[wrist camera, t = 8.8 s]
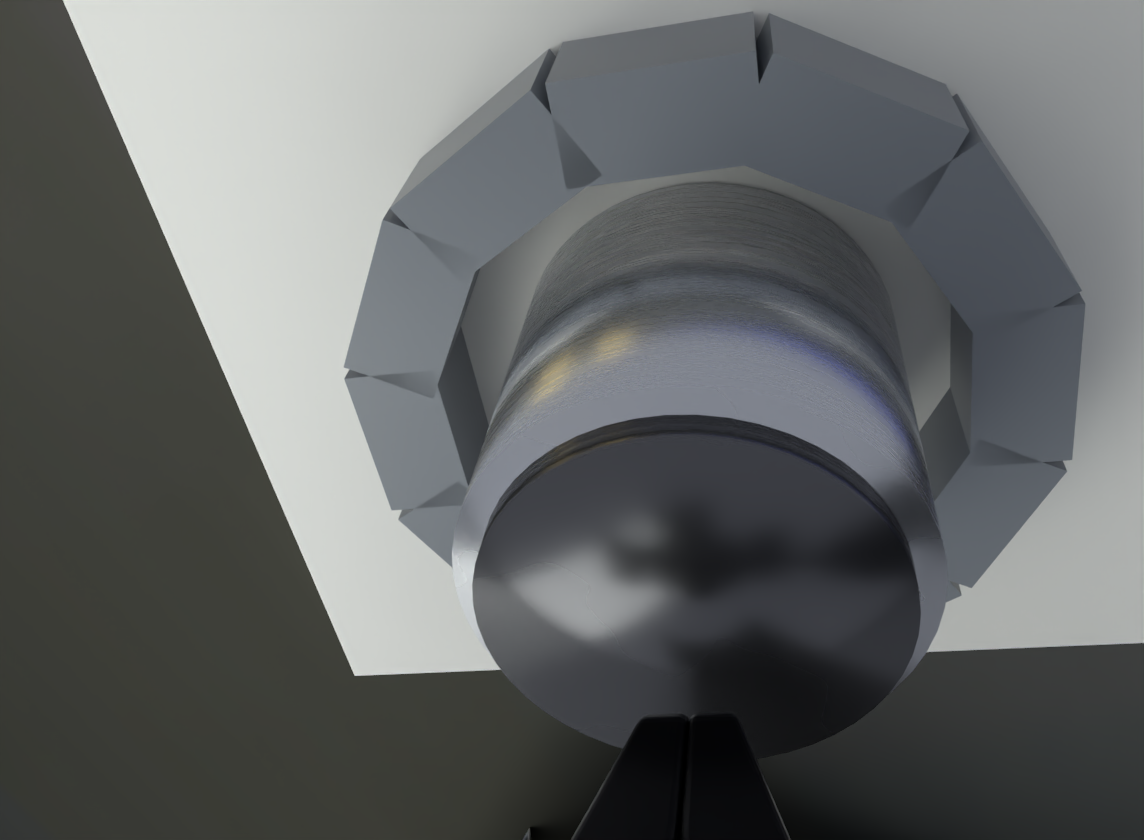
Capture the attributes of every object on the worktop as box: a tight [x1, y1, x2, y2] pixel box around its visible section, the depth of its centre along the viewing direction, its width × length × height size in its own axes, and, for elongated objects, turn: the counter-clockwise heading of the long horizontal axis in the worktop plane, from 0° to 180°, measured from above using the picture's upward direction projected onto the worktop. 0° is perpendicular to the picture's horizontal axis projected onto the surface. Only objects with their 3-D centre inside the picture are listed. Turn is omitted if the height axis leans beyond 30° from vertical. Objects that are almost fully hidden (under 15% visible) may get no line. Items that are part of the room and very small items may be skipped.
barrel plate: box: [63, 0, 1144, 676], centre depth 15 cm, size 14×12×2 cm
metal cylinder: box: [452, 182, 948, 759], centre depth 13 cm, size 5×5×5 cm
